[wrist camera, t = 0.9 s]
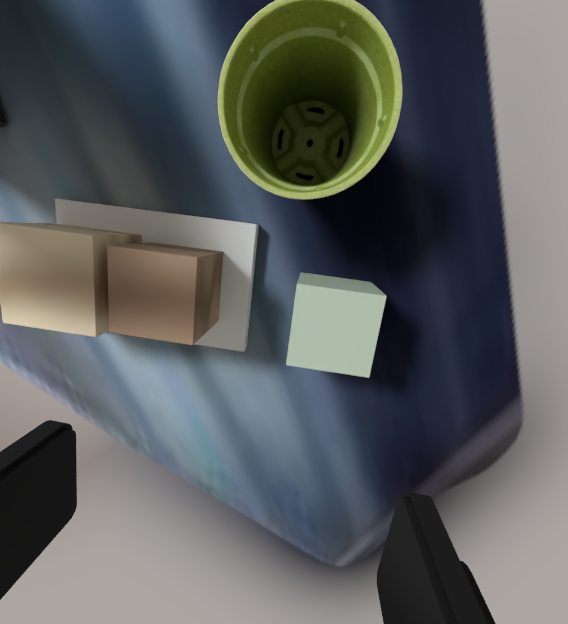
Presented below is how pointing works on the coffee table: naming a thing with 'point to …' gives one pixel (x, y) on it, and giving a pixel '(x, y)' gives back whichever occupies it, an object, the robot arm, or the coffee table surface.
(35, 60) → the coffee table surface
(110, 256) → the walnut cube
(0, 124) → the graphics card box
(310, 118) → the plant pot
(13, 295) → the maple base
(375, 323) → the sage block
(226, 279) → the board
